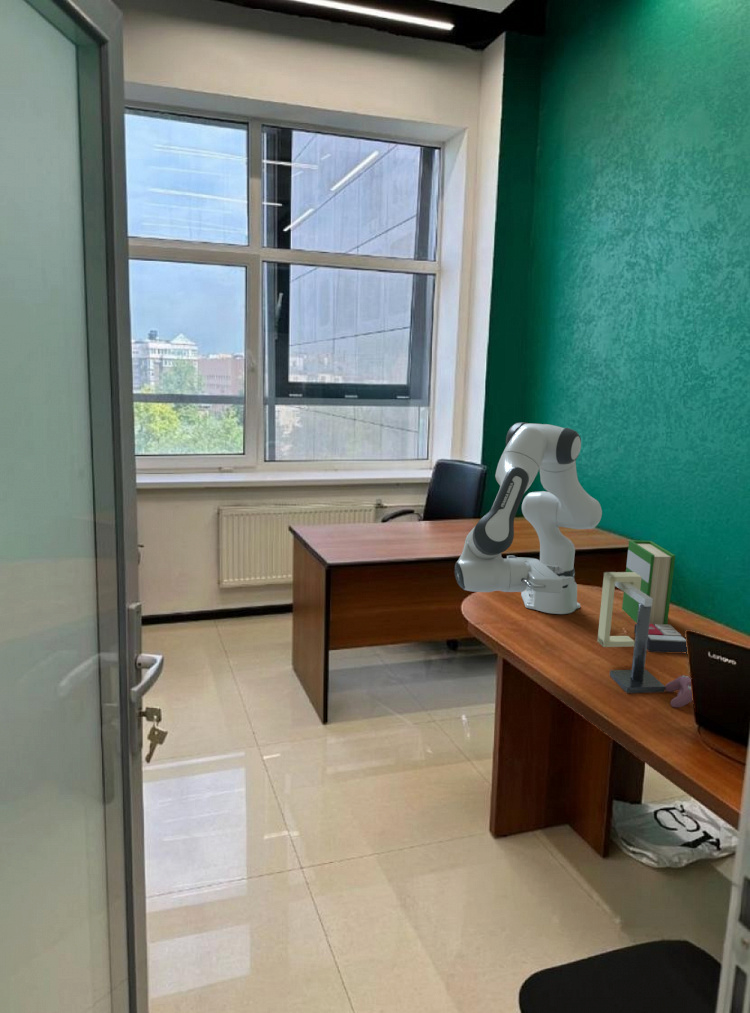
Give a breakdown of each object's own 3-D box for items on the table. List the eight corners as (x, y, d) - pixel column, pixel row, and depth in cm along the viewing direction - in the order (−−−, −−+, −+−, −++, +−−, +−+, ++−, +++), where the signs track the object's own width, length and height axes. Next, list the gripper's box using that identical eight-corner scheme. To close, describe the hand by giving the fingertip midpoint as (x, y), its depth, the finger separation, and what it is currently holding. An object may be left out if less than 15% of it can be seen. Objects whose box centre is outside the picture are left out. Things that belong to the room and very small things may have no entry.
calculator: (671, 623, 215) (689, 639, 200) (669, 636, 215) (688, 654, 200) (634, 621, 215) (650, 637, 200) (633, 635, 216) (648, 652, 201)
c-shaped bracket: (597, 641, 194) (604, 572, 190) (627, 640, 195) (634, 572, 191) (603, 647, 190) (610, 576, 186) (634, 646, 191) (641, 576, 187)
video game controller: (686, 716, 167) (703, 693, 166) (669, 705, 168) (686, 683, 166) (678, 697, 177) (694, 675, 175) (662, 687, 177) (678, 666, 175)
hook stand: (585, 650, 200) (592, 572, 195) (618, 650, 201) (626, 571, 196) (626, 693, 175) (636, 603, 170) (664, 692, 176) (675, 603, 171)
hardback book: (666, 629, 218) (675, 555, 213) (643, 629, 218) (651, 555, 213) (643, 609, 236) (651, 540, 231) (621, 609, 235) (629, 540, 230)
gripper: (529, 575, 175) (583, 575, 176) (506, 553, 195) (554, 553, 196) (528, 599, 176) (580, 598, 178) (504, 575, 196) (552, 575, 197)
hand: (566, 574), depth 187 cm, fingers open, 8 cm apart
